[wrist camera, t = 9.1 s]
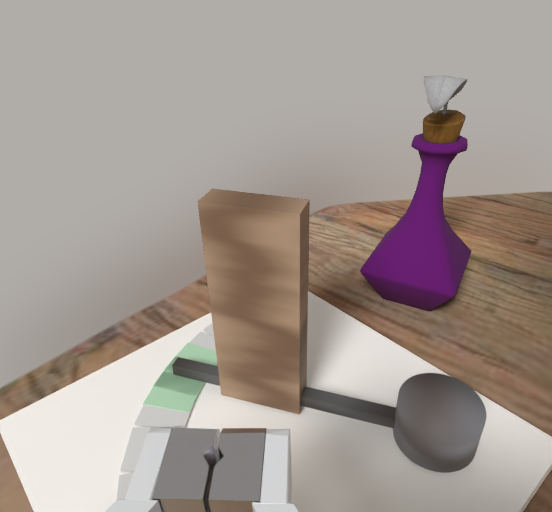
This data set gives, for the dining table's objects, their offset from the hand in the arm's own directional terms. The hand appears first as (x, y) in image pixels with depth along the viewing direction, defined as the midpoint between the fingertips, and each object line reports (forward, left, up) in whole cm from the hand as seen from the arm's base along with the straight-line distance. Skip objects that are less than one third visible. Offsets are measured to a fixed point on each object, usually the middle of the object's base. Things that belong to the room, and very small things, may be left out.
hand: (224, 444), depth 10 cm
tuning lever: (-10, -7, -13) cm, 18 cm away
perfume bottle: (-27, -11, -15) cm, 33 cm away
